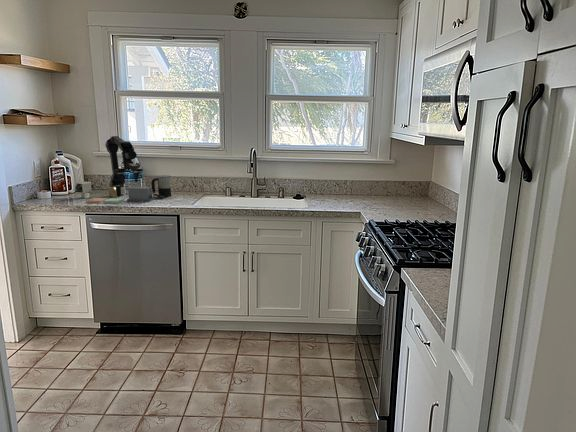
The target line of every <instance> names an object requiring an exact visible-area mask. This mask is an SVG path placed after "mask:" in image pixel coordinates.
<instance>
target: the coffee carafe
mask: <svg viewBox="0 0 576 432" xmlns="http://www.w3.org/2000/svg"><path fill="white" fill-rule="evenodd" d="M171 177H172V176H171V175H170V174H169V175H167V174H165V175H157V177H154V178H153V179H152V180H151V181H150V182H151V190H152V196H154V197H157V198H159V199H163V198H165V197H167V198H168V197H172V189H171V187H172V185H171V184H172V183H171ZM156 181H157V191H158V193H156V185H155V182H156Z"/></svg>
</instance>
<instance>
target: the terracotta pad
mask: <svg viewBox="0 0 576 432" xmlns="http://www.w3.org/2000/svg"><path fill="white" fill-rule="evenodd" d="M107 199H109V198H108V197H93V198H90V199H89V198H88V199H86V200H85V202H86V204H87V203H88V204H102V203H103V201H105V200H107Z"/></svg>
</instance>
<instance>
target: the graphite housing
mask: <svg viewBox="0 0 576 432" xmlns="http://www.w3.org/2000/svg"><path fill="white" fill-rule="evenodd" d="M127 191H128V192H127V193H128V198H127V202H152V201H154V200H155V197H153V192H152V186H130V187H127Z"/></svg>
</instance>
